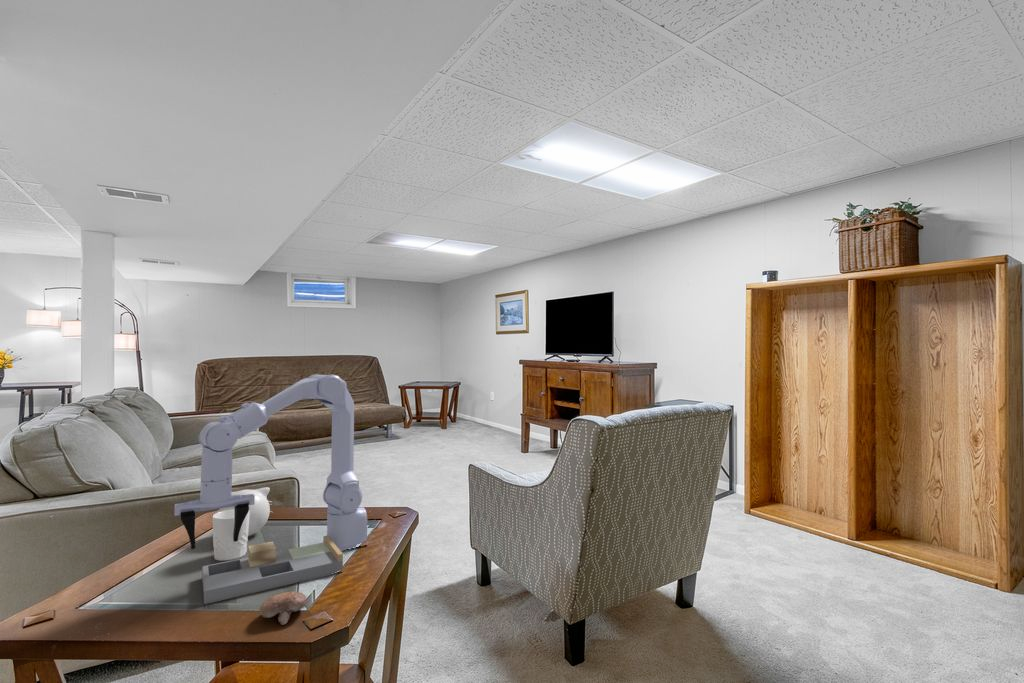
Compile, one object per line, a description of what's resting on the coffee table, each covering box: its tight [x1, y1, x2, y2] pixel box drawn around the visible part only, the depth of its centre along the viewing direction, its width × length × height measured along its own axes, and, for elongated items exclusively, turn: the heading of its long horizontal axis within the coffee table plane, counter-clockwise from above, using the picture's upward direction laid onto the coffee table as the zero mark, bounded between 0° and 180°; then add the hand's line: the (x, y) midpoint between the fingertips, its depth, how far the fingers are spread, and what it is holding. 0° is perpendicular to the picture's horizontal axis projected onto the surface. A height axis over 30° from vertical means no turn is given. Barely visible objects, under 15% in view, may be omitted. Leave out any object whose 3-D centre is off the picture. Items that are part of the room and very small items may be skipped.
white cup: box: [211, 509, 250, 562], centre depth 118 cm, size 8×8×10 cm
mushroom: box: [259, 590, 308, 625], centre depth 89 cm, size 8×6×8 cm
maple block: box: [247, 541, 277, 567], centre depth 108 cm, size 5×5×3 cm
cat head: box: [217, 486, 273, 537], centre depth 131 cm, size 15×13×12 cm
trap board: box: [201, 534, 344, 605], centre depth 107 cm, size 26×14×4 cm, turn 124°
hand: (214, 543), depth 103 cm, fingers open, 7 cm apart
